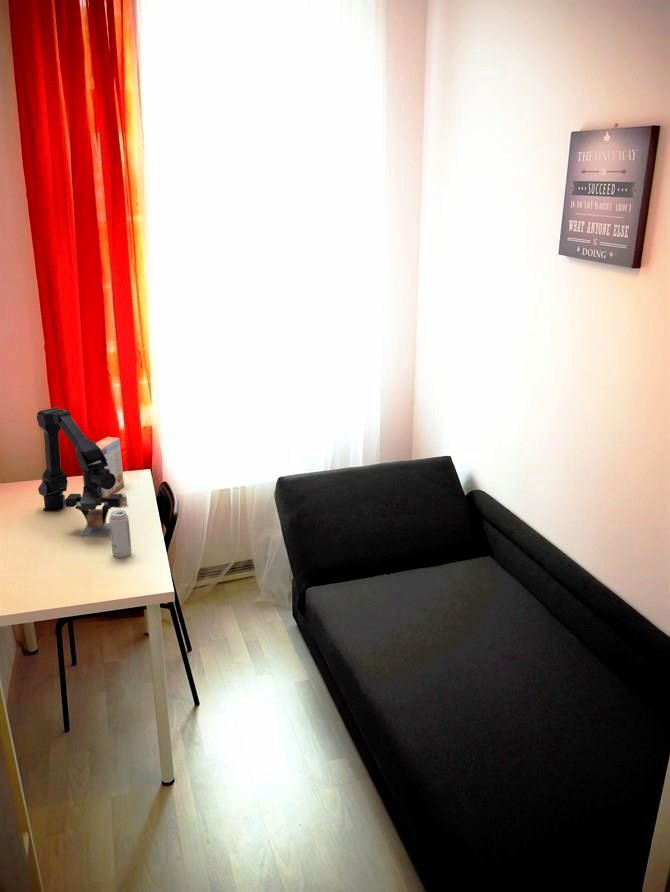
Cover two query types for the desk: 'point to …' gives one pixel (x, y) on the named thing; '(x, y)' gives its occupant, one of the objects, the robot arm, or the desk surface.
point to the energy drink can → (120, 534)
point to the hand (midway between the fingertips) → (96, 522)
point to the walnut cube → (95, 518)
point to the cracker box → (112, 462)
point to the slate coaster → (96, 531)
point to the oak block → (124, 500)
